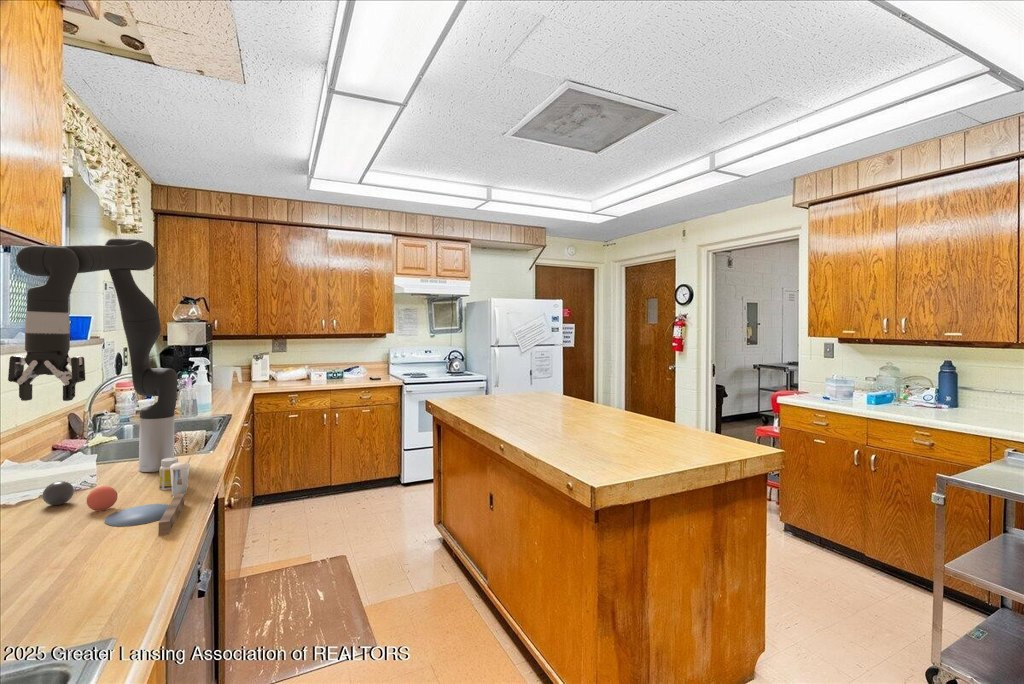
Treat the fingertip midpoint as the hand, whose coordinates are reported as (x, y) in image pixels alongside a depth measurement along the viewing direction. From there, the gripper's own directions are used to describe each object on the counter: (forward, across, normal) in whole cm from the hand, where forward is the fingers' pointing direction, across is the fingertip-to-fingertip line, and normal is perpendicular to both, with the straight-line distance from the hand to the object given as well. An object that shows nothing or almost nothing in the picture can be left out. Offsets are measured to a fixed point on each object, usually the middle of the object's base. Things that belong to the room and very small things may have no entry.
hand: (47, 400), depth 111 cm
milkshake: (+30, -20, -19) cm, 40 cm away
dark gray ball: (+26, +6, -13) cm, 30 cm away
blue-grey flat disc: (+29, -18, -4) cm, 35 cm away
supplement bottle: (+30, -14, -25) cm, 41 cm away
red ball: (+26, -7, -8) cm, 28 cm away
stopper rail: (+29, -27, -1) cm, 40 cm away
